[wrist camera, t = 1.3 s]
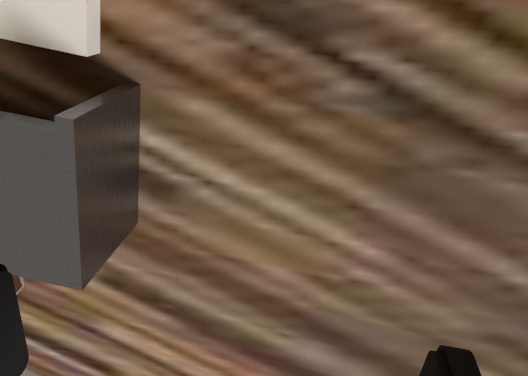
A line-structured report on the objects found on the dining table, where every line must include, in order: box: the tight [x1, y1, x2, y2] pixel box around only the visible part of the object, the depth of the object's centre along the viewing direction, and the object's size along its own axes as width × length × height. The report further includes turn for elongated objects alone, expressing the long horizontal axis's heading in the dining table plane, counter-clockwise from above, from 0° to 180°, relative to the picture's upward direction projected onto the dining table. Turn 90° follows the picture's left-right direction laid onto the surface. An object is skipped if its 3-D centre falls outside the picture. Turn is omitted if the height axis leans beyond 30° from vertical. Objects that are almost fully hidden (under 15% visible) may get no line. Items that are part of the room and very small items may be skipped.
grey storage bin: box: [0, 82, 140, 290], centre depth 33 cm, size 13×13×10 cm
